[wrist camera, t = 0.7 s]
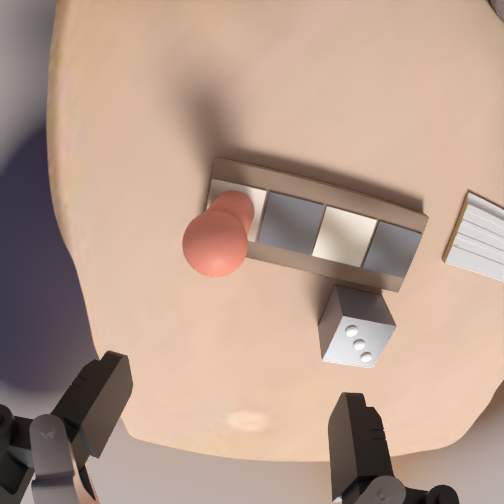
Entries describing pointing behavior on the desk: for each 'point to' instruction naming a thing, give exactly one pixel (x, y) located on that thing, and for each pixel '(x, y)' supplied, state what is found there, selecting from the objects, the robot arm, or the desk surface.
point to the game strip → (322, 225)
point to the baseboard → (478, 239)
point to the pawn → (220, 235)
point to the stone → (498, 8)
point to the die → (354, 327)
